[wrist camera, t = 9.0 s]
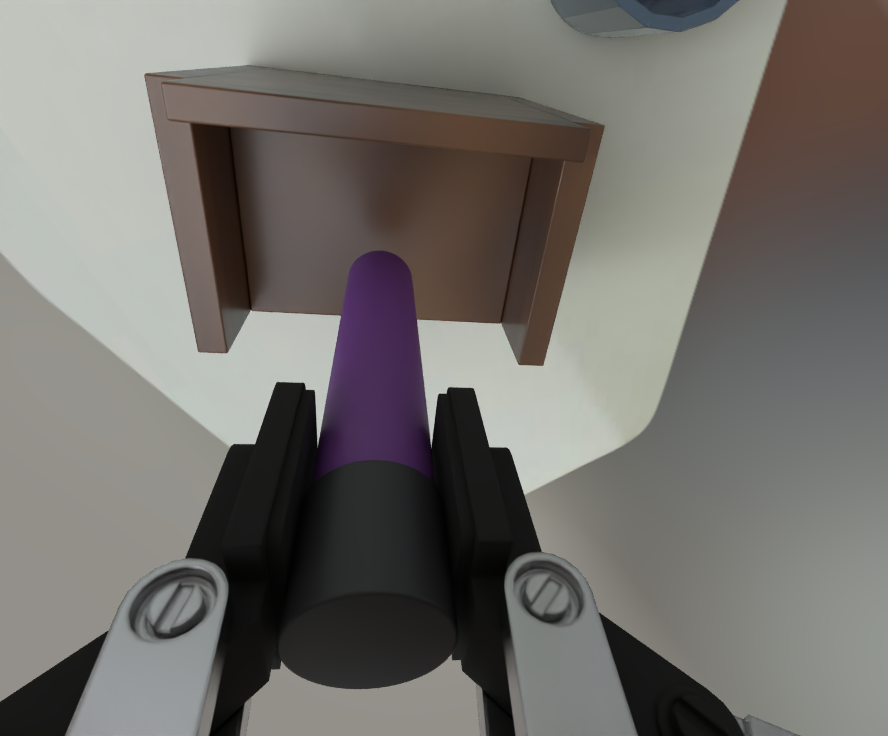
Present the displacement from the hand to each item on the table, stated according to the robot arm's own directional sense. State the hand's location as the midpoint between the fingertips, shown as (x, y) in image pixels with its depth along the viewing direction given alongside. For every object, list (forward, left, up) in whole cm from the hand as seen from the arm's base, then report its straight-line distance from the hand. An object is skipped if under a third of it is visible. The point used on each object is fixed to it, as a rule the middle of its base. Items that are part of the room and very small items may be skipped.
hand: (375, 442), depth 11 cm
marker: (0, 0, -9) cm, 9 cm away
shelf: (0, -1, -23) cm, 23 cm away
